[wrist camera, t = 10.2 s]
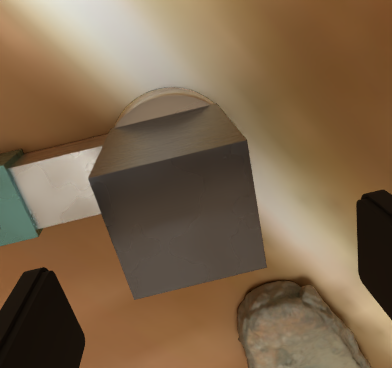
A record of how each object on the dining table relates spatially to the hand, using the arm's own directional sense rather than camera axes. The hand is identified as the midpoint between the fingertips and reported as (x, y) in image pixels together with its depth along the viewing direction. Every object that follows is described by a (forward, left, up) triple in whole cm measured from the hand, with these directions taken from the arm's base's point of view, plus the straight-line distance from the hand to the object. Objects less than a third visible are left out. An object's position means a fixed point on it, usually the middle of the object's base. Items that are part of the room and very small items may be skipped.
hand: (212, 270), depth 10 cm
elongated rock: (-8, +27, -11) cm, 31 cm away
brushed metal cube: (+1, -1, -8) cm, 8 cm away
